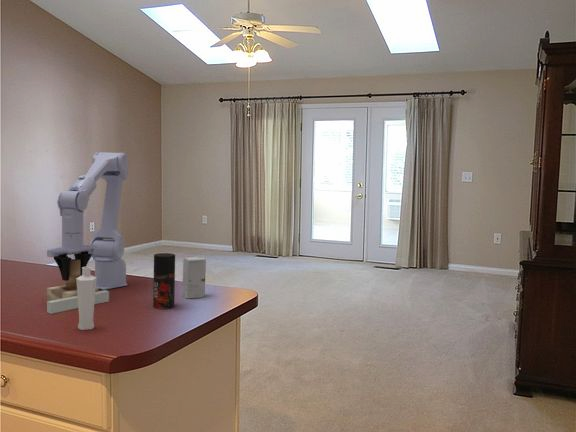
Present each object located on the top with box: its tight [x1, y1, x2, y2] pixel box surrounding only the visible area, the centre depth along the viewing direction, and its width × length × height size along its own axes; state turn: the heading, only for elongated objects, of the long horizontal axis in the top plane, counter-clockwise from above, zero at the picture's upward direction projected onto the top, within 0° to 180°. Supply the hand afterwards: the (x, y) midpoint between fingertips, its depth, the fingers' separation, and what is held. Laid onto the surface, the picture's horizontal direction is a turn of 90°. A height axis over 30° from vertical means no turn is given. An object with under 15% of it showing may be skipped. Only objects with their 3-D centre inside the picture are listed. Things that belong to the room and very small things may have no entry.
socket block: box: [46, 284, 99, 302], centre depth 151 cm, size 10×10×4 cm
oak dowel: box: [65, 258, 81, 289], centre depth 150 cm, size 4×4×8 cm
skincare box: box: [181, 256, 207, 299], centre depth 162 cm, size 6×4×12 cm
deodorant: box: [152, 252, 176, 310], centre depth 149 cm, size 6×6×15 cm
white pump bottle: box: [76, 266, 96, 331], centre depth 127 cm, size 5×4×15 cm
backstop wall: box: [46, 289, 110, 315], centre depth 146 cm, size 18×2×3 cm, turn 145°
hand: (72, 279), depth 150 cm, fingers closed on oak dowel, 4 cm apart
